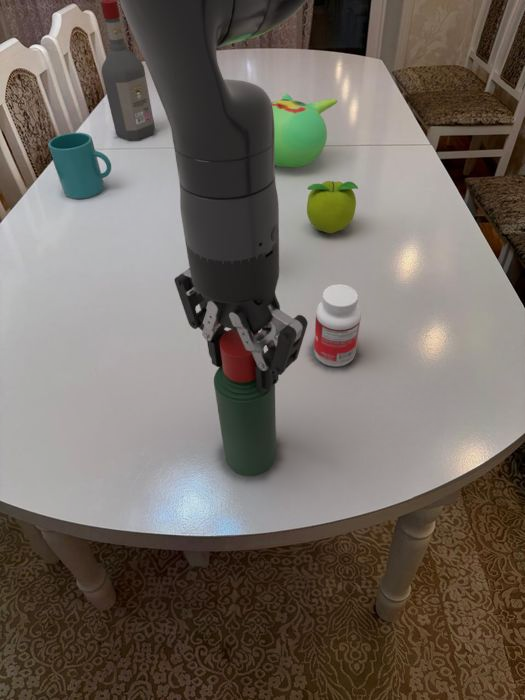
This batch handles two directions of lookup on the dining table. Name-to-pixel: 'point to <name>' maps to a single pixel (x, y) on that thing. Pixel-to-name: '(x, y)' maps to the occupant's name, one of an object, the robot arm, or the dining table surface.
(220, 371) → the bottle
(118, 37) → the liquor
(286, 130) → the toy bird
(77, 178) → the cup
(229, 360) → the cap
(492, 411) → the dining table surface
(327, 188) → the fruit
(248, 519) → the dining table surface
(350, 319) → the pill bottle
